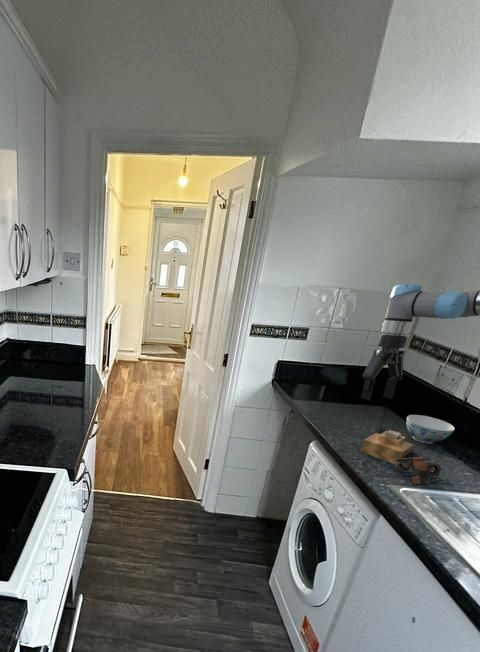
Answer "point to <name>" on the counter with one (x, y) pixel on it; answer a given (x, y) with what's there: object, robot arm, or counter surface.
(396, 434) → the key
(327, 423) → the counter surface
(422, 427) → the chinaware
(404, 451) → the stepped wooden block
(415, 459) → the brown toy vehicle
